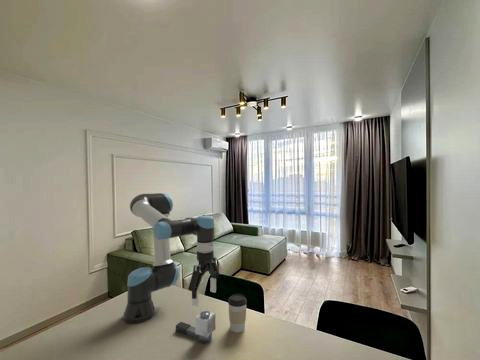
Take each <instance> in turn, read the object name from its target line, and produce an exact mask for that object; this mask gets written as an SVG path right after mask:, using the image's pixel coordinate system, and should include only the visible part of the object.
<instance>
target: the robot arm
mask: <svg viewBox="0 0 480 360" xmlns="http://www.w3.org/2000/svg"><path fill="white" fill-rule="evenodd" d="M173 207H174V203H173V199H172V197H171V196H170V195H169V194H167V193H163V192H161V193H159V192H157V193H156V192H155V193H141V194H138V195H136V196H134V198H132V199H131V201H130V204H129V209H130V212H131V213H132V214H133V216H135V217H138V218H141V219H142V220H143V221H144V222H145V223H147V224H148V225H149V226H150V227H151V228H152V234H153V236H152V237H153V248H154V263H153V264H152V268H151V267H148V266H144V267H138V268H136V269H134V270H132V271H131V272H130V273H129V274H128V275H127V283H126V285H127V296H126V297H127V300H126V301H127V303H126V307H125V309H124V312H123V322H125V323H126V324H130V325H135V324H140V323H141V324H142V323H143V322H146V321H149V320H151V319H152V318H153V317H154V316H155V311H156V310H155V305H154V302H153V299H152V293H154V292H156V291H159V290H163V289H165V288H170V287H171V286H174V285H176V283H177V282H178V280H179V277H180V276H179V275H180V271H179V267H178V265H177V263H175V262H174V260H173V259H172V258H171V247H170V245H171V244H170V239H172V238H179V237H184V236H188V235H190V236H191V235H194V236H196V251H197V252H196V260H197V262H198V264H197V265H195V264H194V265H193V271H192V274H191V278H190V280H189V281H190V282H189V285H188V288H187V290H188V291H190V292H191V299H192V300H191V305H192V306H194V307H199V301H200V300H199V298H200V297H199V295H200V293H199V291H200V290H199V287H200V284H201V282H202V279H203V277H204V276H205V274H206V273H207V272H208V273H209V275H210V276H211V277H210V282H209V283H210V285H209V286H210V288H209V290H210V292H211V293H214V294H215V293H217V279H219V275H220V272H219V271H220V270H219V268H218V265H217V262H216V260H217V259H216V257H214V253H215V252H214V250H215V249H214V247H215V245H214V243H215V242H214V241H215V240H214V239H215V218H214V217H213V216H212V215H199V216H198V217H197V218H195V217H192V216H191V217H184V219H175V220H171V219H170V218H169V216H170V212H172V210H173Z"/></svg>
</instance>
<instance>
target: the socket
mask: <svg viewBox="0 0 480 360" xmlns="http://www.w3.org/2000/svg"><path fill="white" fill-rule="evenodd" d="M194 327H195V334H198V335H201V336H204V337H208V336H209V335H210V334H211V333H212V334H213V332H214V331H215V330H216V313H215V312H212V311H209V310H205V309H204V310H202V311H201V312H200V313H198V314H197V315H196V316H195V317H194Z"/></svg>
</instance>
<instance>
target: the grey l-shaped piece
mask: <svg viewBox="0 0 480 360" xmlns="http://www.w3.org/2000/svg"><path fill="white" fill-rule="evenodd" d="M175 332H176V333H178V334H181V335H185V336H187V337H191V338H192V339H196V340H198V343H199V344H200V345H201V344H202V345H207V344H209V343H211V342H212V340H213V332H212V333H211V334H210V335H209V336H208V337H204V336H201V335H198V334H195V326H191V324H189V323H186V322H183V321H179V323H177V324H176V325H175Z"/></svg>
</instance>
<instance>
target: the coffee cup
mask: <svg viewBox="0 0 480 360" xmlns="http://www.w3.org/2000/svg"><path fill="white" fill-rule="evenodd" d="M227 303H228V317H229V325H230V326H229V328H230V331H231V332H232V333H236V334H238V333H243V332H244V331H245V329H246V328H245V327H246V320H247V319H246V317H247V303H248V300H247V298H246V297H245V296H244V295H243V294H242V293H239V292H238V293H235V294H232V295H231V296H229V298H228V301H227Z"/></svg>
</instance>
